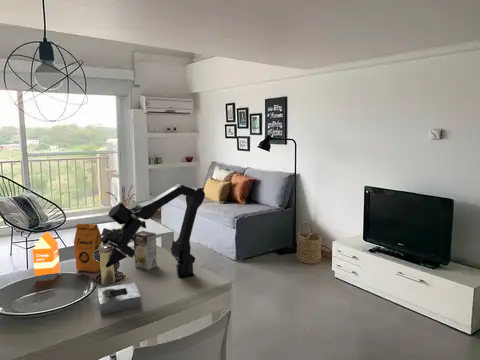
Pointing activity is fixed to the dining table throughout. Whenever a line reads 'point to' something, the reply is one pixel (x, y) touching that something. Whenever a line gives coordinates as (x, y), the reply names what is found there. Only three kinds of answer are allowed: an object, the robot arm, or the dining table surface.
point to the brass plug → (106, 273)
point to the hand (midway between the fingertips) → (103, 265)
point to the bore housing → (118, 298)
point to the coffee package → (87, 247)
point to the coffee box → (145, 250)
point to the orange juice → (46, 256)
